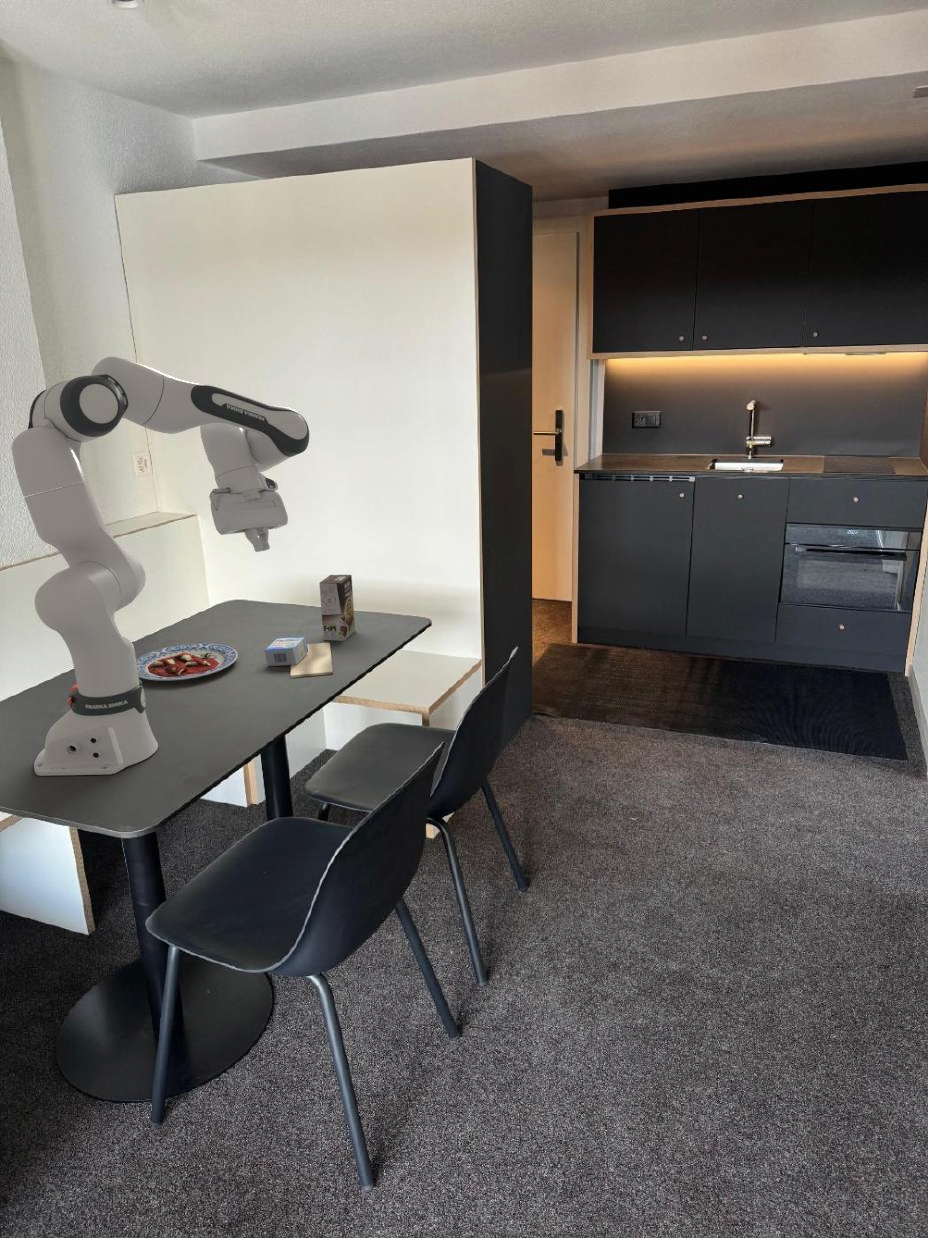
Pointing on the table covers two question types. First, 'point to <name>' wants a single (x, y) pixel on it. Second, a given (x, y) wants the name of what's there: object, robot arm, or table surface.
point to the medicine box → (286, 651)
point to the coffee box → (337, 607)
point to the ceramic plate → (185, 661)
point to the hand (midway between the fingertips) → (263, 550)
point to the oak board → (314, 661)
